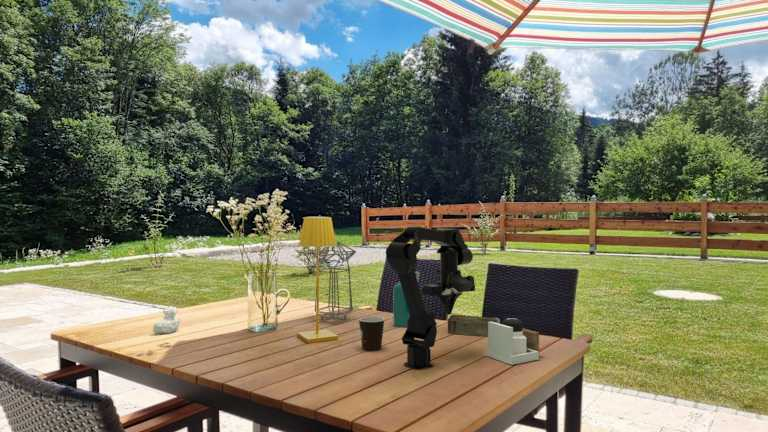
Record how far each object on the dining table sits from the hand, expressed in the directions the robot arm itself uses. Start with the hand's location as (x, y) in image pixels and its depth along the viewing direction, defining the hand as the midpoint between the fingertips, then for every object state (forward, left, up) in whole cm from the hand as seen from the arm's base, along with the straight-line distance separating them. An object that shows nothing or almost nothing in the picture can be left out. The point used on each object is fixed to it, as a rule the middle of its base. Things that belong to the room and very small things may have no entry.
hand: (448, 314), depth 162 cm
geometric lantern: (-7, +65, -13) cm, 67 cm away
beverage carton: (+27, +15, -14) cm, 34 cm away
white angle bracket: (+14, -15, -13) cm, 24 cm away
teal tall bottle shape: (+14, +41, -13) cm, 45 cm away
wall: (+20, -15, -13) cm, 29 cm away
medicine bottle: (+14, -15, -13) cm, 24 cm away
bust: (-69, +84, -13) cm, 109 cm away
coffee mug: (-16, +21, -13) cm, 30 cm away
